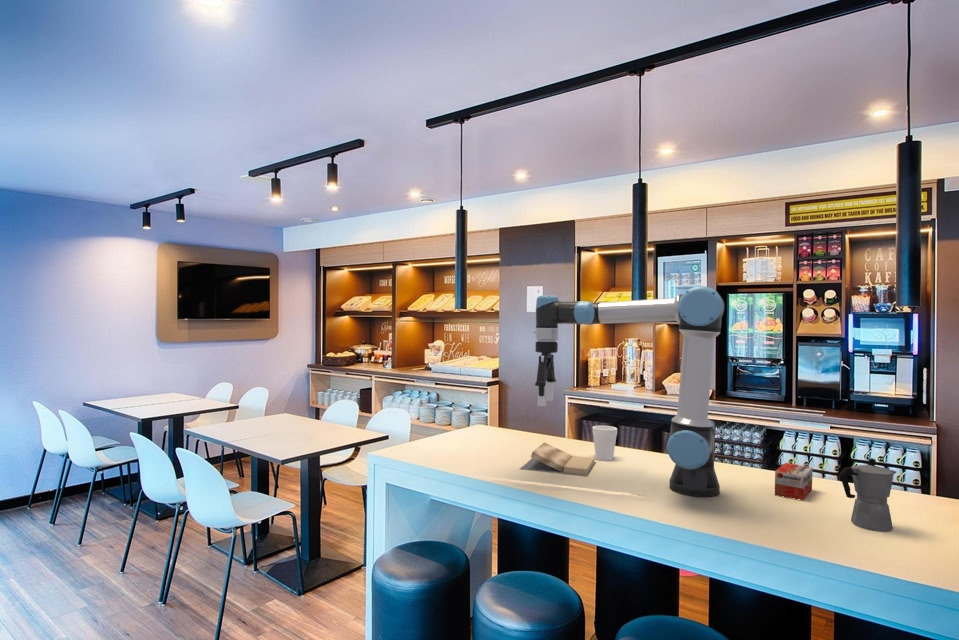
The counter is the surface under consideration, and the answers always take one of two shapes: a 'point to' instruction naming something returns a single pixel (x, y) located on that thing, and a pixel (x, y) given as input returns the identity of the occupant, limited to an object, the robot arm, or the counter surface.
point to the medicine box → (793, 481)
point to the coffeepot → (870, 495)
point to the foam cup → (604, 442)
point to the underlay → (573, 467)
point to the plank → (551, 456)
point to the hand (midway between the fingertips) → (545, 403)
